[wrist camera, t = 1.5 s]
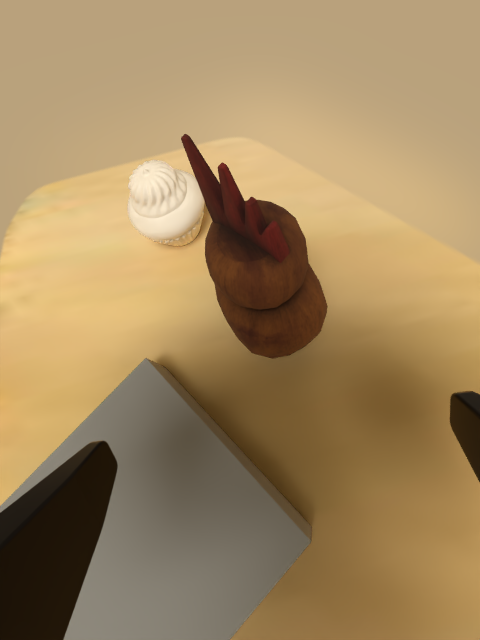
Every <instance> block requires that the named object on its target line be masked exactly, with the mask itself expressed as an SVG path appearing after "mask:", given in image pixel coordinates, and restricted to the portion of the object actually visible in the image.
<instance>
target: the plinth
mask: <svg viewBox="0 0 480 640" xmlns="http://www.w3.org/2000/svg"><path fill="white" fill-rule="evenodd" d="M101 440H103V441H106V442H107V443H108V445H109V446H110V448H111V450H112V452H113V454H114V456H115V458H116V460H117V464H118V469H117V474H116V478H115V482H114V486H113V490H112V494H111V498H110V502H109V506H108V510H107V514H106V517H105V521H104V524H103V528H102V531H101V534H100V537H99V540H98V543H97V546H96V548H95V551H94V554H93V557H92V560H91V563H90V566H89V568H88V571H87V574H86V577H85V580H84V583H83V586H82V588H81V591H80V594H79V597H78V600H77V603H76V605H75V608H74V611H73V614H72V617H71V620H70V623H69V625H68V628H67V631H66V634H65V637H64V640H230V639H231V638H232V636H233V635H234V634H235V633H236V632H237V630H238V629H239V628H240V627H241V626H242V624H243V623H244V622H245V621H246V620H247V618H248V617H249V616H250V615H251V614H252V612H253V611H254V610H255V609H256V608H257V606H258V605H259V604H260V603H261V602H262V600H263V599H264V598H265V597H266V596H267V594H268V593H269V592H270V591H271V590H272V588H273V587H274V586H275V585H276V584H277V582H278V581H279V580H280V579H281V578H282V576H283V575H284V574H285V573H286V572H287V570H288V569H289V568H290V567H291V566H292V564H293V563H294V562H295V561H296V560H297V558H298V557H299V556H300V555H301V554H302V552H303V551H304V550H305V549H306V548H307V546H308V545H309V544H310V543H311V537H312V527H311V526H310V524H309V523H308V522H307V521H306V520H305V519H304V518H303V517H302V516H301V515H300V514H299V513H298V511H297V510H296V509H295V508H294V507H293V506H292V505H291V504H290V503H289V502H288V501H287V499H286V498H285V497H284V496H283V495H282V494H281V493H280V492H279V491H278V490H277V489H276V488H275V486H274V485H273V484H272V483H271V482H270V481H269V480H268V479H267V478H266V477H265V476H264V474H263V473H262V472H261V471H260V470H259V469H258V468H257V467H256V466H255V465H254V464H253V463H252V461H251V460H250V459H249V458H248V457H247V456H246V455H245V454H244V453H243V452H242V451H241V450H240V448H239V447H238V446H237V445H236V444H235V443H234V442H233V441H232V440H231V439H230V438H229V436H228V435H227V434H226V433H225V432H224V431H223V430H222V429H221V428H220V427H219V426H218V425H217V423H216V422H215V421H214V420H213V419H212V418H211V417H210V416H209V415H208V414H207V413H206V411H205V410H204V409H203V408H202V407H201V406H200V405H199V404H198V403H197V402H196V401H195V400H194V398H193V397H192V396H191V395H190V394H189V393H188V392H187V391H186V390H185V389H184V388H183V386H182V385H181V384H180V383H179V382H178V381H177V380H176V379H175V378H174V377H173V376H172V375H171V373H170V372H169V371H168V370H167V369H166V368H165V367H163V366H161V365H159V364H157V363H155V362H153V361H151V360H149V359H147V358H145V359H144V360H143V361H142V362H141V363H140V364H139V365H138V366H137V367H136V368H135V369H134V370H133V371H132V372H131V373H130V375H129V376H128V377H127V378H126V379H125V380H124V381H123V382H122V383H121V384H120V385H119V386H118V387H117V388H116V389H115V390H114V391H113V392H112V393H111V394H110V395H109V396H108V397H107V398H106V399H105V400H104V401H103V402H102V403H101V404H100V405H99V406H98V407H97V408H96V409H95V410H94V411H93V412H92V413H91V414H90V415H89V416H88V417H87V418H86V419H85V420H84V421H83V422H82V423H81V424H80V426H79V427H78V428H77V429H76V430H75V431H74V432H73V433H72V434H71V435H70V436H69V437H68V438H67V439H66V440H65V441H64V442H63V443H62V444H61V445H60V446H59V447H58V448H57V449H56V450H55V451H54V452H53V453H52V454H51V455H50V456H49V457H48V458H47V459H46V460H45V461H44V462H43V463H42V464H41V465H40V466H39V467H38V468H37V469H36V470H35V471H34V472H33V473H32V474H31V475H30V476H29V478H28V479H27V480H26V481H25V482H24V483H23V484H22V485H21V486H20V487H19V488H18V489H17V490H16V491H15V492H14V493H13V494H12V495H11V496H10V497H9V498H8V499H7V500H6V501H5V502H4V503H3V504H2V505H1V506H0V513H1V512H2V511H3V510H4V509H6V508H7V507H8V506H9V505H11V504H12V503H13V502H15V501H16V500H17V499H18V498H20V497H21V496H22V495H24V494H25V493H26V492H27V491H29V490H30V489H31V488H32V487H34V486H35V485H36V484H38V483H39V482H40V481H41V480H43V479H44V478H45V477H46V476H48V475H49V474H50V473H52V472H53V471H54V470H55V469H57V468H58V467H59V466H60V465H62V464H63V463H64V462H66V461H67V460H68V459H69V458H71V457H72V456H73V455H74V454H76V453H77V452H78V451H80V450H81V449H82V448H83V447H85V446H86V445H87V444H89V443H90V442H94V441H101Z"/></svg>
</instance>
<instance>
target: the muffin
mask: <svg viewBox="0 0 480 640" xmlns="http://www.w3.org/2000/svg"><path fill="white" fill-rule="evenodd" d="M129 180H130V182H129V184H128V188H129V189H130V197H129V200H128V208H127V211H128V217H129V219H130V221H131V223H132V225H133V226H134V228H135V229H136V230H137V231H138V232H139V233H140V234H142V235H143V236H145V237H147V238H149V239H151V240H154V242H159V243H163V244H168V245H172V246H183V245H186V244H188V243H190V242H192V241H193V239H195V237H197V235H198V233H199V230H200V227H201V223H202V219H203V215H204V211H203V210H204V204H205V201H204V198H203V196H202V193H201V190H200V188H199V185H198V182H197V180H196V178H195V177H194V176H193V175H191V174H190V173H188V172H185V171H182V170H178V169H173V168H172V167H171V166H170V165H168V163H166V162H164V161H158V160H151V161H145V162H144V163H143V165H138V168H137V169H135V170H133V174H132V175H131V176H130V178H129Z"/></svg>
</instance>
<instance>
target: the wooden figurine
mask: <svg viewBox="0 0 480 640" xmlns="http://www.w3.org/2000/svg"><path fill="white" fill-rule="evenodd" d="M181 140H182V143H183V146H184V148H185V151H186V153H187V156H188V159H189V161H190V164H191V167H192V169H193V172H194V174H195V177H196V180H197V182H198V185H199V188H200V190H201V193H202V196H203V198H204V201H205V203H206V206H207V208H208V211H209V213H210V216H211V218H212V221H213V222H212V224H211V226H210V228H209V231H208V234H207V237H206V240H205V257H206V263H207V266H208V269H209V273H210V276H211V278H212V279H213V281H214V283H215V289H216V294H217V300H218V302H219V305H220V307H221V310H222V312H223V314H224V316H225V318H226V320H227V322H228V324H229V325H230V327H231V328H232V330H233V332H234V333H235V335H236V336H237V338H238V339H239V340H240V341H241V342H242V343H243V344H244V345H245V346H246V347H247V348H248V349H249V350H250V351H251V352H252V353H254V354H258V355H261V356H265V357H269V358H276V357H281V356H287V355H291V354H292V353H294V352H296V351H297V350H299V349H301V348H303V347H304V346H306V345H307V344H308V343H309V342H310V341H311V340H312V339H314V338H315V337H316V336H317V335H318V334H319V333H320V331H321V328H322V325H323V322H324V319H325V316H326V313H327V304H326V300H325V297H324V294H323V291H322V288H321V285H320V282H319V280H318V278H317V276H316V275H315V273H314V271H313V270H312V268H311V266H310V265H309V263H308V255H307V247H306V240H305V237H304V235H303V233H302V231H301V229H300V227H299V224H298V222H297V220H296V218H295V217H294V216H293V215H291V214H290V213H289V212H288V211H287V210H286V209H284V208H282V207H280V206H278V205H276V204H274V203H272V202H268V201H261V200H256V199H255V198H253V197H251V198H250V199H249V200H248V201H244V199H243V197H242V195H241V193H240V191H239V189H238V187H237V185H236V183H235V181H234V179H233V177H232V175H231V172H230V170H229V168H228V167H227V165H226V164H224V163H221V164H220V165H219V166H218V173H219V179H220V183H219V182H218V180H217V178H216V177H215V175H214V174H213V172H212V171H211V169H210V167H209V166H208V164H207V163H206V161H205V160H204V158H203V156H202V155H201V153H200V152H199V150H198V149H197V147H196V145H195V144H194V142H193V141H192V139H191V138H190V137H189V136H188V135H187V134H184V136H183V137H182V138H181Z"/></svg>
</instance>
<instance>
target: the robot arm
mask: <svg viewBox="0 0 480 640" xmlns="http://www.w3.org/2000/svg"><path fill="white" fill-rule="evenodd" d="M450 424H451V427H452V430H453V432H454V434H455V436H456V438H457V440H458V442H459V444H460V445H461V447H462V449H463V451H464V453H465V455H466V457H467V459H468V461H469V463H470V465H471V467H472V469H473V471H474V472H475V474H476V476H477V478H478V480H479V482H480V394H477V393H475V392H472V391H465V392H457V393H454V394H452V395H451V399H450ZM117 469H118V464H117V460H116V458H115V456H114V454H113V452H112V450H111V448H110V446H109V445H108V443H107V442H106V441H103V440H101V441H94V442H90V443H89V444H87V445H86V446H85V447H83V448H82V449H81V450H80V451H78V452H77V453H76V454H74V455H73V456H72V457H71V458H69V459H68V460H67V461H66V462H64V463H63V464H62V465H60V466H59V467H58V468H57V469H55V470H54V471H53V472H52V473H50V474H49V475H48V476H46V477H45V478H44V479H43V480H41V481H40V482H39V483H38V484H36V485H35V486H34V487H32V488H31V489H30V490H29V491H27V492H26V493H25V494H24V495H22V496H21V497H20V498H18V499H17V500H16V501H15V502H13V503H12V504H11V505H9V506H8V507H7V508H6V509H4V510H3V511H2V512H1V513H0V640H64V637H65V634H66V631H67V628H68V625H69V623H70V620H71V617H72V614H73V611H74V608H75V605H76V603H77V600H78V597H79V594H80V591H81V588H82V586H83V583H84V580H85V577H86V574H87V571H88V568H89V566H90V563H91V560H92V557H93V554H94V551H95V548H96V546H97V543H98V540H99V537H100V534H101V531H102V528H103V524H104V521H105V517H106V514H107V510H108V506H109V502H110V498H111V494H112V490H113V486H114V482H115V478H116V474H117Z"/></svg>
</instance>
